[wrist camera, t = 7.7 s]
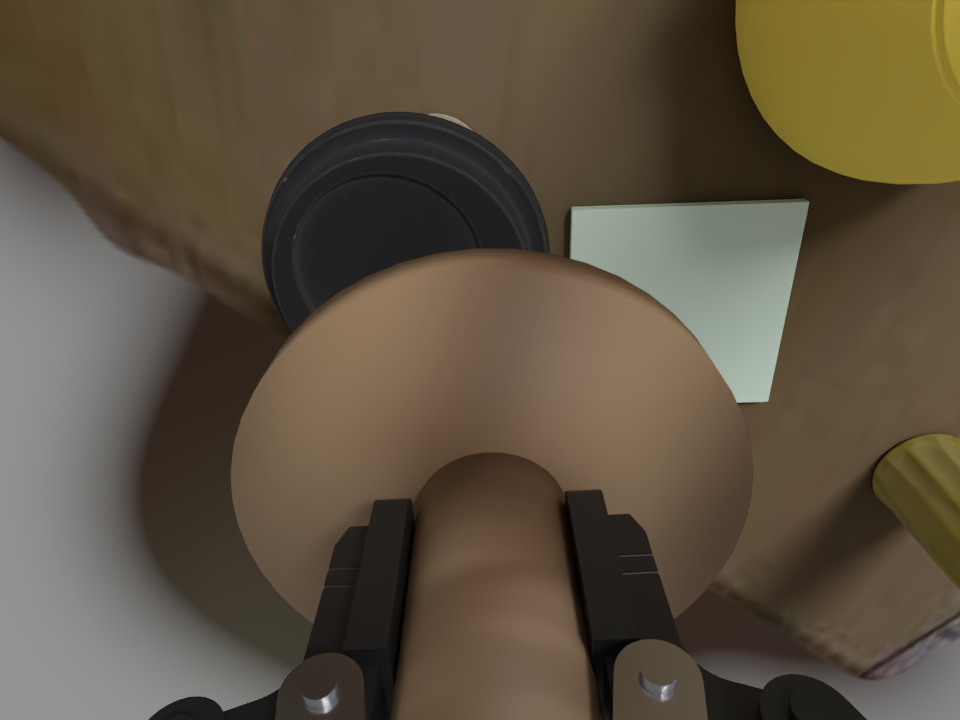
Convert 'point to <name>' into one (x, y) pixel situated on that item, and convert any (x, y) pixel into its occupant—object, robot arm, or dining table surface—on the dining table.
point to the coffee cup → (389, 205)
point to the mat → (707, 272)
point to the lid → (491, 463)
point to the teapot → (858, 83)
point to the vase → (926, 495)
